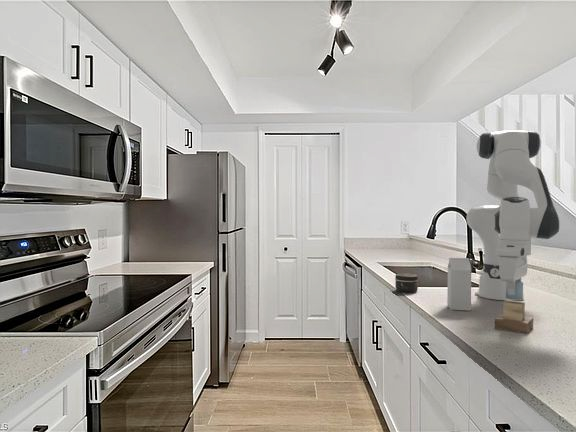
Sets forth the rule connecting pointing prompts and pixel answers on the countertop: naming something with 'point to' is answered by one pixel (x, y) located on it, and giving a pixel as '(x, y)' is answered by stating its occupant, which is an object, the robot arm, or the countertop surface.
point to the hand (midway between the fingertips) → (514, 292)
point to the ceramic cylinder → (519, 291)
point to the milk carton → (459, 284)
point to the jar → (406, 283)
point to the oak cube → (514, 310)
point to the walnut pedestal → (514, 324)
